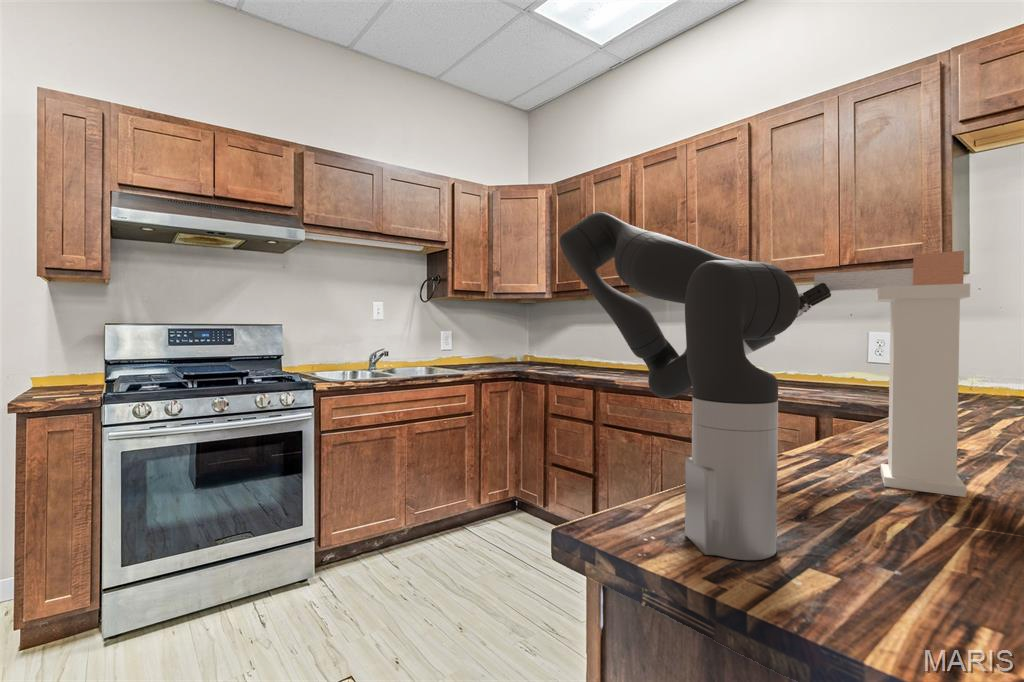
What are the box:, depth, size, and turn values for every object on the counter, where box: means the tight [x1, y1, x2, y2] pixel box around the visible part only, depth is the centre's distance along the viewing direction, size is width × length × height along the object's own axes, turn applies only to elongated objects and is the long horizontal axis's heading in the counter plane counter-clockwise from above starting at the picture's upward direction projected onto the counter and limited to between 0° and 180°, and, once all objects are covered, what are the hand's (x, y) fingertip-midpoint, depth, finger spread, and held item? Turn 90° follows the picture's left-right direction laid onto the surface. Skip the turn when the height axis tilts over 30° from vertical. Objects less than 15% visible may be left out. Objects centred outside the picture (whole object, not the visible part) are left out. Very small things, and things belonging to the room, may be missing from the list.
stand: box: [875, 283, 971, 498], centre depth 85 cm, size 11×10×32 cm
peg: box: [813, 250, 965, 292], centre depth 87 cm, size 20×6×5 cm, turn 50°
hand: (828, 289), depth 91 cm, fingers open, 8 cm apart
